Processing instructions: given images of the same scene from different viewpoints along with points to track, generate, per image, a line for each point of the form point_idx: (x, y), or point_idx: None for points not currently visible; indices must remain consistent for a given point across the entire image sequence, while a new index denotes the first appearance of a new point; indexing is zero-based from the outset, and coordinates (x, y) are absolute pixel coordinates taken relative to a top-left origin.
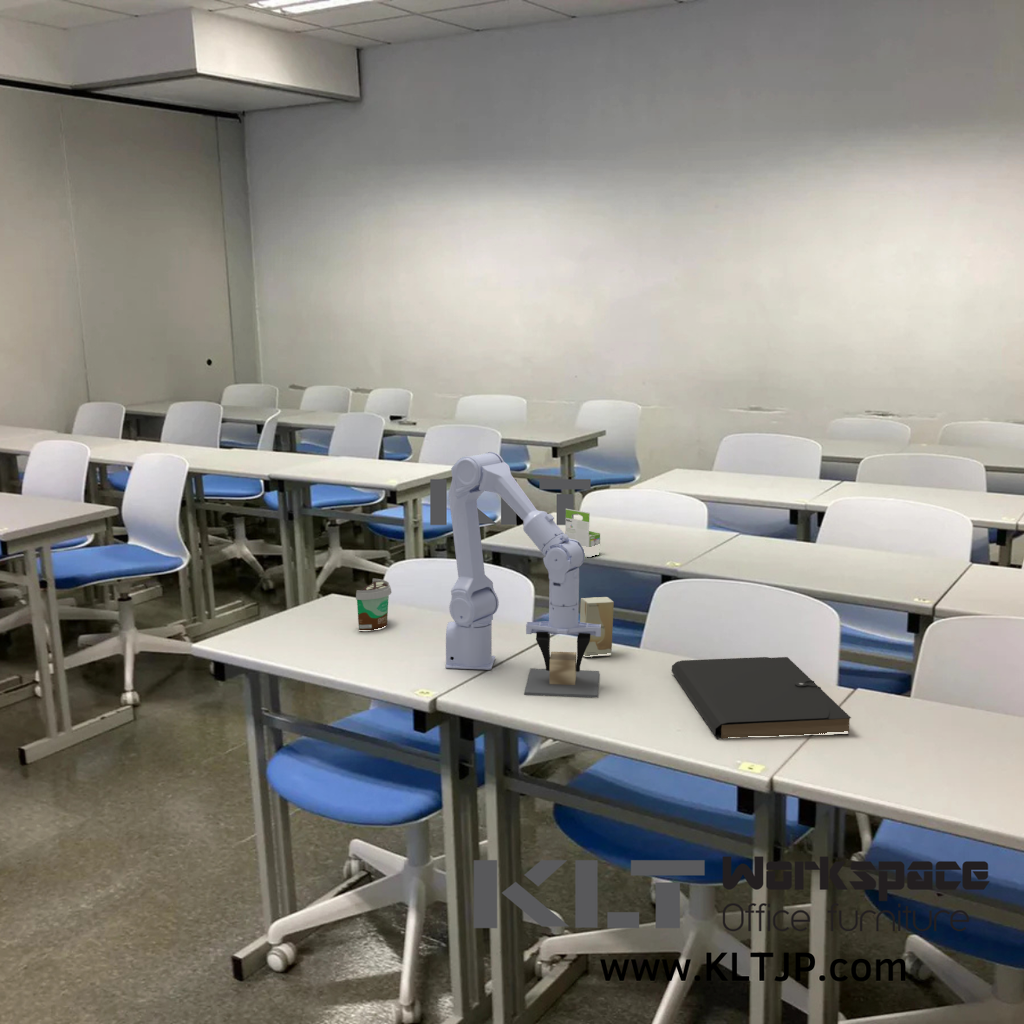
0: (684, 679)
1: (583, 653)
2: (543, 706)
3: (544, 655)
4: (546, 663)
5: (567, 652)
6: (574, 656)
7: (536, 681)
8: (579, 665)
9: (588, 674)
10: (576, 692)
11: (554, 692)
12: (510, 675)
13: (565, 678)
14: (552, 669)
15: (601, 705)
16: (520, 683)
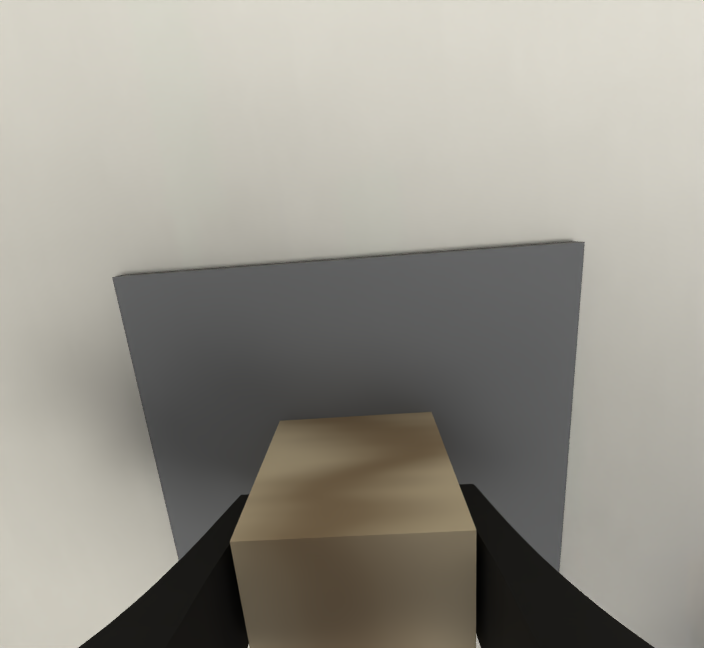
0: None
1: (114, 620)
2: (432, 41)
3: (544, 571)
4: (492, 514)
5: None
6: (258, 630)
7: (512, 439)
8: (217, 524)
9: None
10: (248, 299)
11: (384, 275)
12: (658, 531)
13: (333, 437)
14: (430, 470)
15: (66, 145)
16: (600, 426)
